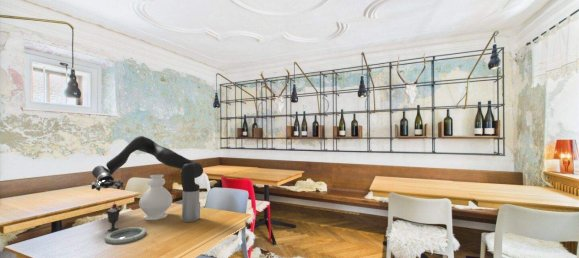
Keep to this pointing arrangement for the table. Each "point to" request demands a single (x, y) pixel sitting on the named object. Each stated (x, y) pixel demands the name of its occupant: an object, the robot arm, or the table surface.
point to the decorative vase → (155, 199)
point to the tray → (125, 235)
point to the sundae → (113, 216)
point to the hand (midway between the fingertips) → (109, 188)
